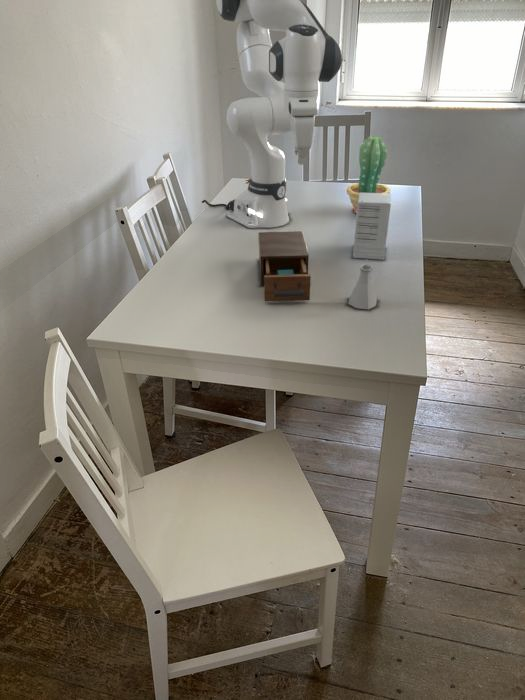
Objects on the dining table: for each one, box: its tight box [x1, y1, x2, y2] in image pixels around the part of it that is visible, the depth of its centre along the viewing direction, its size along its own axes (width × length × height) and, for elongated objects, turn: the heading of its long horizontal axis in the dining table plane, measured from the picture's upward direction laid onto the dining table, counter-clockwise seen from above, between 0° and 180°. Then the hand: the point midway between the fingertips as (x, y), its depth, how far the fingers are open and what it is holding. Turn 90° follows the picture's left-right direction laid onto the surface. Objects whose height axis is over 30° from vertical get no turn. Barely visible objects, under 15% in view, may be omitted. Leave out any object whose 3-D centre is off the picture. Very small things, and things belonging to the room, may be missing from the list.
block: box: [277, 270, 294, 275], centre depth 136 cm, size 4×4×4 cm
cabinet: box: [258, 230, 310, 287], centre depth 147 cm, size 17×13×9 cm
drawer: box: [263, 258, 312, 302], centre depth 135 cm, size 21×11×7 cm, turn 2°
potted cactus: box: [346, 135, 391, 214], centre depth 182 cm, size 15×15×25 cm
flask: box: [347, 263, 378, 310], centre depth 131 cm, size 7×7×10 cm
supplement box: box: [352, 193, 392, 261], centre depth 154 cm, size 10×9×17 cm
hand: (299, 158), depth 139 cm, fingers open, 8 cm apart
